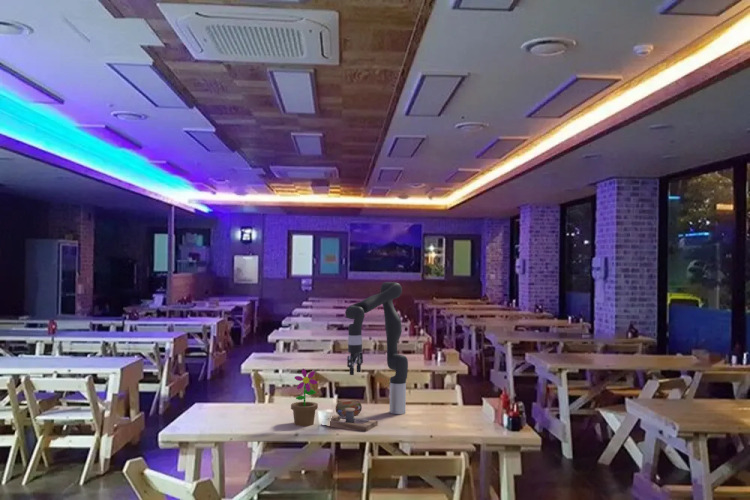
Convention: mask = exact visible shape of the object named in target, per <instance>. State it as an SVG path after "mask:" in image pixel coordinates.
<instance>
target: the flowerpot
mask: <svg viewBox="0 0 750 500" xmlns="http://www.w3.org/2000/svg"><path fill="white" fill-rule="evenodd" d="M315 374H316V371H315V370H312V371H310V373H308V374H307V370H306V368H302V369H301V375H302V376H300V375H296V376H294V379H295V380H296V381H299V384H298V385H297V386H296V388H297V390H300V389H302V388H303V395H298V396H296V397H295V400H298V401H296V402H293V403H291V404H290V409H291V410H292V411H293V412H292V413H293V414H292V415H293V422H294V425H295V426H297V425H298V426H297V427H311V426H314V424H315V417H316V415H315V414H316V410H318V409H319V407H318V406H319V404H318V403H317V402H314V401H306V395H308V396H312V395H315V394H316V393H317V391H315V390H314V389H311V385H317V384H318V381H317V380H316V379H312V378H313V377H314V376H315ZM310 384H311V385H310ZM300 400H301V401H300ZM302 400H303V401H302Z"/></svg>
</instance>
